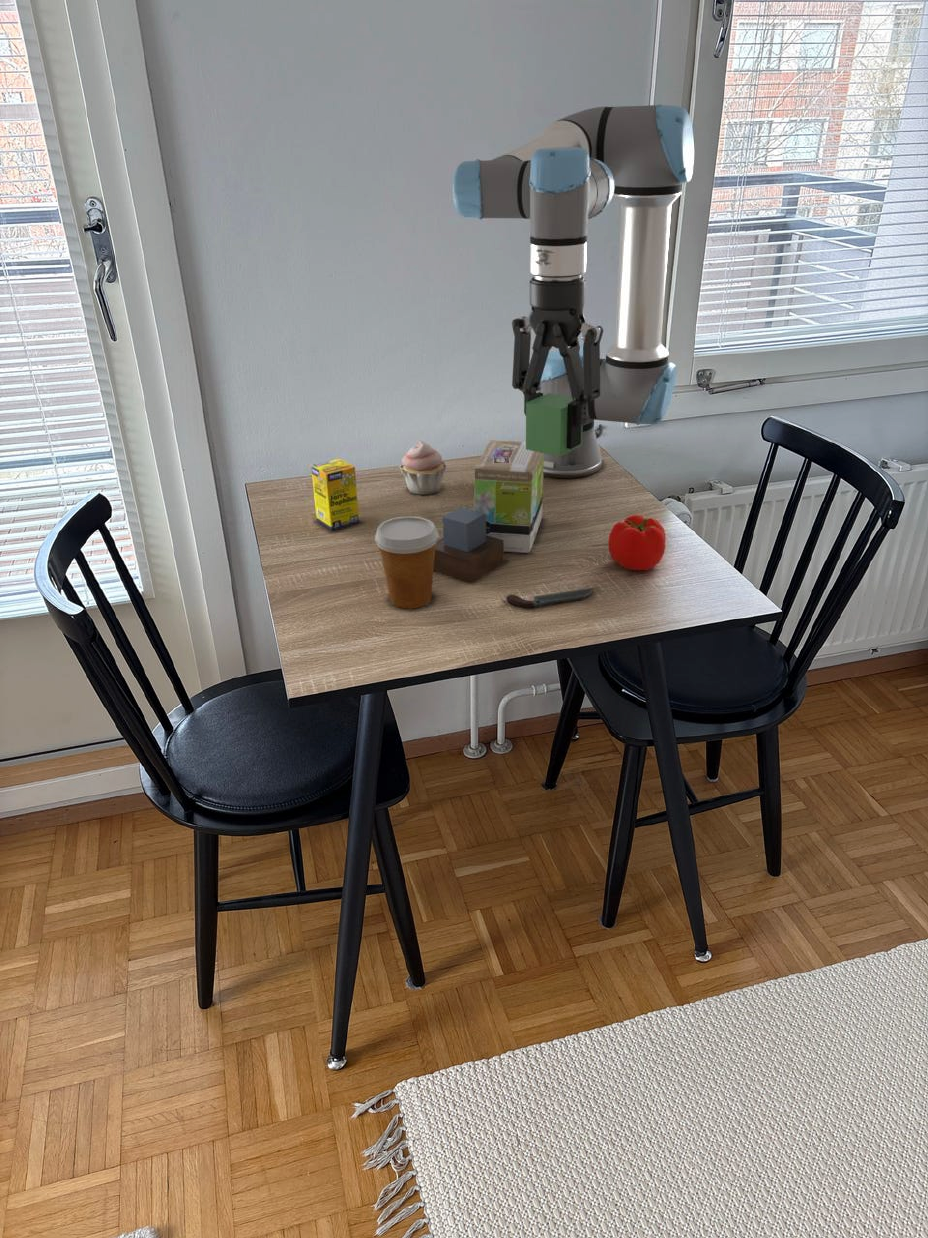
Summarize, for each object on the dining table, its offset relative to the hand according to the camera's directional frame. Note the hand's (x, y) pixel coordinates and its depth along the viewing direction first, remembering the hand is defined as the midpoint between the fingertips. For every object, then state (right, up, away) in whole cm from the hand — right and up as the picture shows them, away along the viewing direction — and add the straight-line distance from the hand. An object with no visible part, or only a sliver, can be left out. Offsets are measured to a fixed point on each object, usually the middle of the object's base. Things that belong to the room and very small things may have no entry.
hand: (554, 441), depth 136 cm
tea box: (-5, -11, +27) cm, 30 cm away
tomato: (+15, -17, +15) cm, 27 cm away
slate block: (-13, -14, +15) cm, 24 cm away
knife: (0, -23, +6) cm, 24 cm away
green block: (0, -1, 0) cm, 1 cm away
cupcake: (-21, -1, +46) cm, 51 cm away
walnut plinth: (-13, -17, +17) cm, 27 cm away
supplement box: (-36, -9, +33) cm, 50 cm away
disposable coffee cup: (-21, -23, +7) cm, 32 cm away
